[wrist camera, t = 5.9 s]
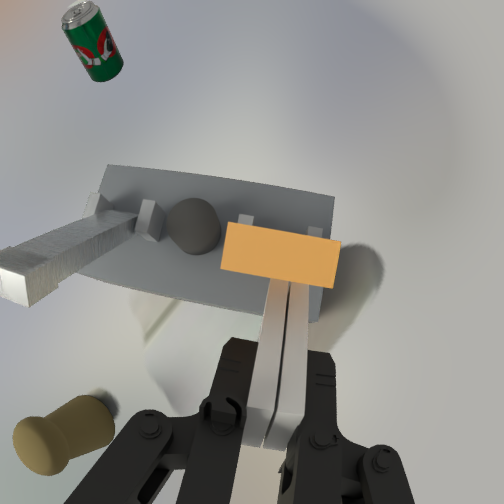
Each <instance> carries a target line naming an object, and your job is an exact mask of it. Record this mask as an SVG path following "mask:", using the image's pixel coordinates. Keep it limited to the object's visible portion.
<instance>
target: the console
mask: <svg viewBox="0 0 504 504" xmlns="http://www.w3.org/2000/svg"><path fill="white" fill-rule="evenodd" d="M188 198H200V199H203V200H205V201H207V202H208V203H210V204H211V205H212V207H213V208H214V209H215V211H216V214H217V217H218V219H219V222H220V225H221V237H220V240H219V242H218V244H217V245H216V247H215V248H214V249H213V250H211V251H210V252H208V253H206V254H203V255H190V254H187V253H185V252H184V251H183V250H181V249H180V248H179V247H178V246H177V244H176V243H175V242H174V241H173V240H172V239H171V238H170V236H169V234H168V232H167V227H166V222H167V217H168V215H169V212H170V211H171V209H172V208H173V207H174V206H175V205H176V204H177V203H179V202H180V201H182V200H184V199H188ZM334 199H335V197H333V196H327V195H322V194H317V193H312V192H307V191H301V190H296V189H290V188H284V187H279V186H273V185H266V184H261V183H255V182H248V181H242V180H235V179H229V178H222V177H215V176H207V175H199V174H192V173H184V172H176V171H168V170H159V169H150V168H141V167H130V166H120V165H107V168H106V171H105V173H104V176H103V179H102V182H101V185H100V188H99V191H98V193H92V192H90V195H89V198H88V201H87V204H86V207H85V211H84V214H83V217H82V219H83V218H86V217H89V216H91V215H94V214H97V213H99V212H102V211H105V210H116V211H123V212H129V213H136V214H139V216H138V219H137V223H136V227H135V231H136V232H137V233H138V235H136V236H134V237H133V238H131V239H129V240H128V241H126V242H124V243H123V244H121V245H119V246H117V247H116V248H114V249H112V250H111V251H109V252H108V253H106V254H104V255H103V256H101V257H99V258H98V259H96V260H94V261H93V262H91V263H90V264H88V265H86V266H85V267H83V268H82V269H80V270H78V271H77V272H76V273H79V274H82V275H85V276H88V277H91V278H94V279H97V280H100V281H103V282H106V283H110V284H114V285H118V286H122V287H127V288H131V289H135V290H139V291H144V292H148V293H152V294H157V295H161V296H166V297H170V298H175V299H180V300H184V301H189V302H194V303H199V304H204V305H209V306H214V307H219V308H224V309H229V310H234V311H240V312H245V313H250V314H256V315H262V316H263V314H264V309H265V303H266V298H267V293H268V288H269V283H270V278H268V277H262V276H257V275H251V274H246V273H240V272H234V271H229V270H224V269H220V268H221V262H222V256H223V250H224V244H225V238H226V232H227V226H228V222H233V223H239V224H245V225H251V226H257V227H263V228H268V229H274V230H280V231H286V232H291V233H297V234H302V235H308V236H313V237H319V238H324V239H330V235H331V226H332V217H333V207H334ZM289 285H290V281H289V282H288V289H289ZM322 294H323V287H320V286H314V285H309V312H308V323H312V322H318V319H319V313H320V307H321V300H322Z"/></svg>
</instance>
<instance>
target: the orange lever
mask: <svg viewBox="0 0 504 504" xmlns="http://www.w3.org/2000/svg"><path fill="white" fill-rule="evenodd" d="M340 247H341V242H340V241H335V240H330V239H324V238H319V237H313V236H308V235H302V234H297V233H291V232H286V231H280V230H274V229H268V228H263V227H257V226H251V225H245V224H239V223H233V222H228V226H227V232H226V238H225V244H224V250H223V256H222V262H221V268H220V269H224V270H229V271H234V272H240V273H246V274H251V275H257V276H262V277H268V278H274V279H279V280H285V281H291V282H297V283H303V284H308V285H314V286H320V287H326V288H332V289H333V285H334V279H335V274H336V269H337V264H338V258H339V253H340Z"/></svg>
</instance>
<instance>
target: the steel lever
mask: <svg viewBox="0 0 504 504" xmlns="http://www.w3.org/2000/svg"><path fill="white" fill-rule="evenodd" d="M138 216H139V214H136V213H129V212H123V211H116V210H105V211H102V212H99V213H97V214H94V215H91V216H89V217H86V218H83V219H81V220H78V221H75V222H73V223H70V224H68V225H65V226H63V227H60V228H58V229H55V230H53V231H50V232H48V233H45V234H43V235H40V236H38V237H36V238H33V239H31V240H28V241H26V242H24V243H22V244H19V245H17V246H15V247H10V246H9V247H7V248H5V249H3V250H0V296H1V297H3V298H6V299H8V300H11V301H13V302H16V303H18V304H20V305H23V306H25V307H28V308H29V307H31V306H32V305H34V304H35V303H37V302H38V301H39V300H41V299H42V298H44V297H45V296H47V295H48V294H50V293H51V292H53V291H54V290H55V289H57V288H58V283H60V282H61V281H63V280H64V279H66V278H67V277H69V276H71V275H72V274H74V273H75V272H77V271H78V270H80V269H82V268H83V267H85V266H86V265H88V264H90V263H91V262H93V261H94V260H96V259H98V258H99V257H101V256H103V255H104V254H106V253H108V252H109V251H111V250H112V249H114V248H116V247H117V246H119V245H121V244H123V243H124V242H126V241H128V240H129V239H131V238H133V237H134V236H136V235H138V233H137V232H136V231H135V227H136V223H137V219H138Z"/></svg>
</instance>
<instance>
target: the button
mask: <svg viewBox="0 0 504 504" xmlns="http://www.w3.org/2000/svg"><path fill="white" fill-rule="evenodd" d="M166 227H167V232H168V234H169V236H170V238H171V239H172V240H173V241H174V242H175V243H176V244H177V246H178V247H179V248H180V249H181V250H183V251H184V252H185V253H187V254H190V255H203V254H206V253H208V252H210V251H211V250H213V249H214V248H215V247H216V245H217V244H218V242H219V240H220V237H221V225H220V222H219V219H218V217H217V214H216V211H215V209H214V208H213V207H212V205H211V204H210V203H208V202H207V201H205V200H203V199H200V198H188V199H184V200H182V201H180V202H179V203H177V204H176V205H175V206H174V207H173V208H172V209H171V211H170V212H169V215H168V217H167V222H166Z"/></svg>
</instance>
